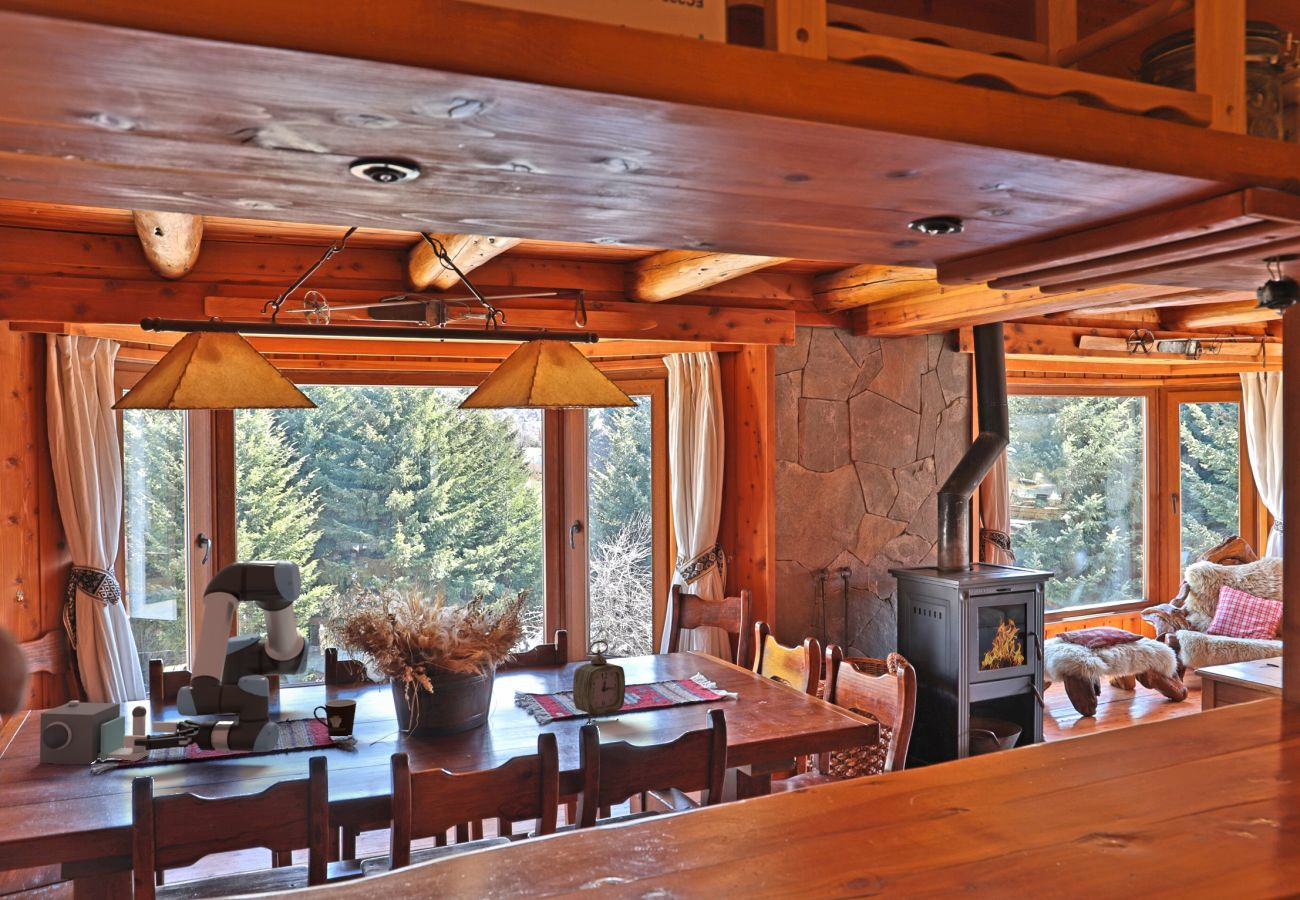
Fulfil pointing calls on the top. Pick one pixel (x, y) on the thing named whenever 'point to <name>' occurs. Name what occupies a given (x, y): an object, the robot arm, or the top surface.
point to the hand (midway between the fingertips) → (139, 733)
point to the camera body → (74, 732)
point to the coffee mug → (339, 716)
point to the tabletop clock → (599, 686)
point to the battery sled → (122, 737)
